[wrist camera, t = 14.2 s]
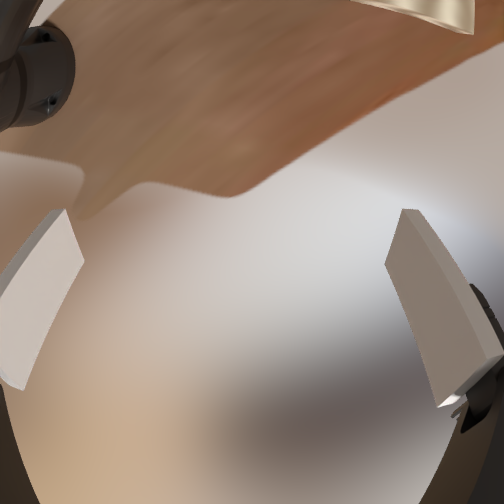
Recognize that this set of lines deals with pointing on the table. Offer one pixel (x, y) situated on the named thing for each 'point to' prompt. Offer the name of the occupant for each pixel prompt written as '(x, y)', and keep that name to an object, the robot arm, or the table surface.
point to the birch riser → (434, 11)
